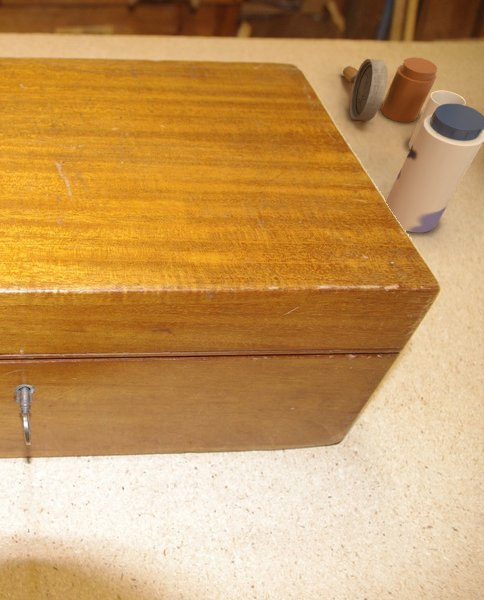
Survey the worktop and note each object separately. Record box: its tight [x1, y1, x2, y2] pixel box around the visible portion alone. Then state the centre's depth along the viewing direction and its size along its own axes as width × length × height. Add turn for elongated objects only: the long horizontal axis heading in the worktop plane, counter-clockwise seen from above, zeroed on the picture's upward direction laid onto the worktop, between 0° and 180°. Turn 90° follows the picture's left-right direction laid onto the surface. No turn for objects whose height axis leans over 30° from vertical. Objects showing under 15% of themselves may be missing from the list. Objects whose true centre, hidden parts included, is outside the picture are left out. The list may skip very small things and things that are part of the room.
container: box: [385, 114, 484, 233], centre depth 128 cm, size 10×10×20 cm
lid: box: [430, 104, 484, 141], centre depth 120 cm, size 8×8×2 cm
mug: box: [408, 89, 467, 150], centre depth 148 cm, size 10×7×12 cm, turn 166°
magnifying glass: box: [342, 58, 388, 122], centre depth 160 cm, size 13×3×25 cm
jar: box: [380, 57, 438, 123], centre depth 157 cm, size 8×8×12 cm
